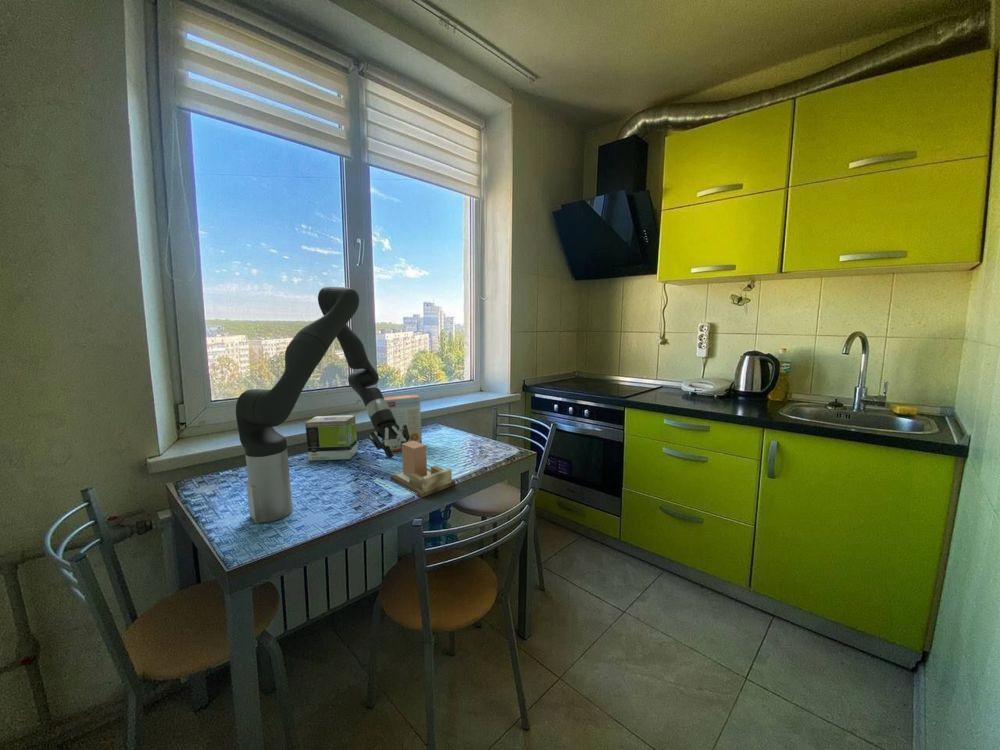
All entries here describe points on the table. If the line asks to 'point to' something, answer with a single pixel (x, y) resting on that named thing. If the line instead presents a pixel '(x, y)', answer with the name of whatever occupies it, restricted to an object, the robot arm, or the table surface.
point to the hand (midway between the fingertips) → (399, 454)
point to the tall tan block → (414, 458)
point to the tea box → (331, 437)
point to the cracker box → (406, 417)
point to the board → (412, 488)
